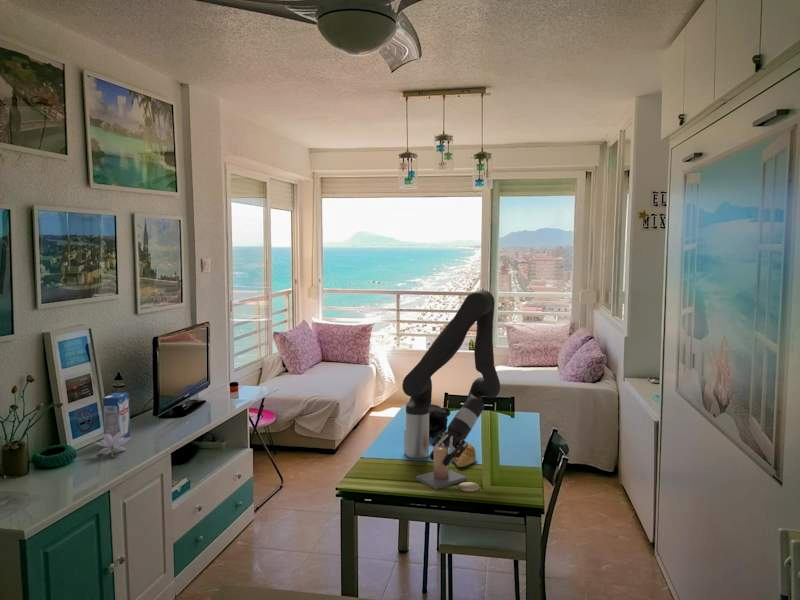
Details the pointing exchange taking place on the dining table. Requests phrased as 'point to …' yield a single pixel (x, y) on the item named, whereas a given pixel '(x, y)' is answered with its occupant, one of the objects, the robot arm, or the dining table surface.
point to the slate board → (440, 483)
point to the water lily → (112, 443)
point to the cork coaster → (469, 486)
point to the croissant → (466, 456)
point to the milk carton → (116, 414)
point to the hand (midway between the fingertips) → (437, 461)
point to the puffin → (437, 420)
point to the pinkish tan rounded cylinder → (440, 462)
